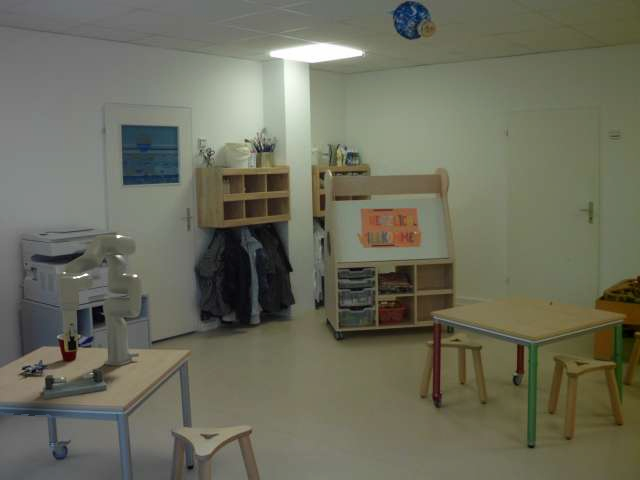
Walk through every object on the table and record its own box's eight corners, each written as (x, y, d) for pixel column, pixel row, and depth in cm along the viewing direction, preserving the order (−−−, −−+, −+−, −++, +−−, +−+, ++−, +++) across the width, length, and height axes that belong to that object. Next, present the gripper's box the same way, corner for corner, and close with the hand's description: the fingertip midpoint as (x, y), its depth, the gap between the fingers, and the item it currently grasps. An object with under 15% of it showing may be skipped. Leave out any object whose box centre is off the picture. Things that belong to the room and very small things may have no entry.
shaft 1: (45, 390, 283) (44, 378, 282) (47, 387, 287) (46, 375, 286) (65, 388, 284) (64, 376, 284) (66, 385, 288) (66, 373, 288)
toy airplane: (17, 380, 303) (17, 372, 302) (17, 372, 315) (16, 364, 315) (49, 376, 308) (48, 368, 308) (47, 368, 321) (47, 361, 320)
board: (102, 382, 298) (102, 377, 298) (106, 389, 288) (106, 384, 288) (43, 391, 287) (42, 386, 287) (45, 398, 278) (45, 394, 277)
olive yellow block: (65, 352, 284) (64, 335, 283) (64, 349, 288) (63, 333, 287) (78, 350, 286) (77, 334, 285) (77, 348, 290) (76, 332, 289)
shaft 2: (98, 379, 296) (98, 368, 295) (102, 381, 293) (102, 370, 292) (81, 383, 291) (80, 371, 290) (85, 385, 288) (84, 373, 287)
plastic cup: (76, 362, 329) (75, 338, 328) (54, 362, 330) (53, 338, 329) (85, 356, 340) (83, 332, 339) (63, 356, 341) (62, 332, 339)
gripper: (58, 303, 291) (61, 345, 293) (61, 310, 276) (63, 354, 278) (77, 301, 294) (79, 343, 296) (81, 308, 279) (83, 352, 281)
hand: (71, 348), depth 287 cm, fingers closed on olive yellow block, 4 cm apart
